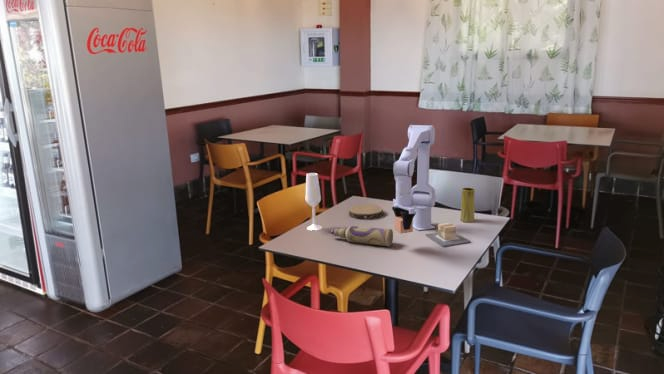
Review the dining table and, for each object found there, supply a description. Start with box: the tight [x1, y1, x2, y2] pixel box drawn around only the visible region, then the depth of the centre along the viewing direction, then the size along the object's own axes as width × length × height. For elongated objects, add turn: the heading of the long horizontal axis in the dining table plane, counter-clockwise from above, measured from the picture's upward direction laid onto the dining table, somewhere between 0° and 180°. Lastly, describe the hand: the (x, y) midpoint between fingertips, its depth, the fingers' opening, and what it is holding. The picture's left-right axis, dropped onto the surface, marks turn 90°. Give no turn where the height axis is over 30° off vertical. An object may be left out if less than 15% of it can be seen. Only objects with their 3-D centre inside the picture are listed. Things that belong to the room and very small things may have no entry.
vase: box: [459, 187, 476, 223], centre depth 221 cm, size 6×6×14 cm
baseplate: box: [425, 231, 472, 248], centre depth 201 cm, size 14×12×1 cm
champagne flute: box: [304, 172, 323, 231], centre depth 218 cm, size 7×7×24 cm
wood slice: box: [348, 203, 384, 221], centre depth 237 cm, size 16×16×3 cm
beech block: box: [437, 222, 457, 240], centre depth 201 cm, size 5×5×5 cm
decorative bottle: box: [330, 225, 394, 248], centre depth 201 cm, size 26×8×7 cm, turn 65°
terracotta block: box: [394, 216, 414, 235], centre depth 191 cm, size 5×5×5 cm
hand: (403, 227), depth 192 cm, fingers closed on terracotta block, 5 cm apart
